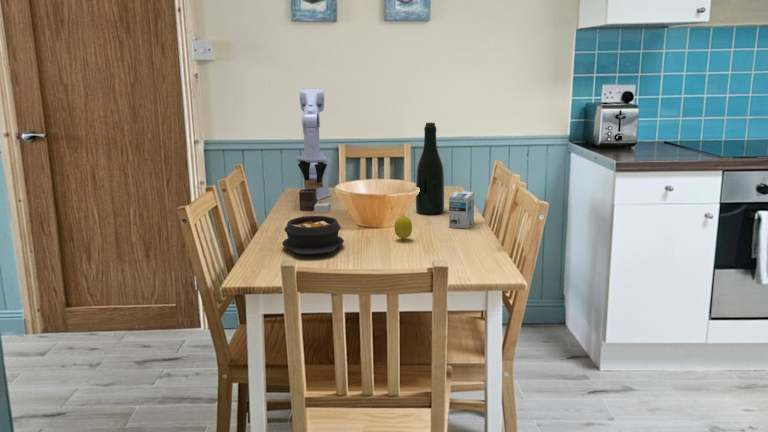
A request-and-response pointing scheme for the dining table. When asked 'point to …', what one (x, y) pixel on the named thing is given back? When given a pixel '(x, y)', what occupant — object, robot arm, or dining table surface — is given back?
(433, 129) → the wine bottle
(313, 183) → the walnut block
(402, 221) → the lemon
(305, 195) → the box
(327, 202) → the tile
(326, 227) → the casserole
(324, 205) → the grey block
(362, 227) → the dining table surface
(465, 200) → the light bulb box
